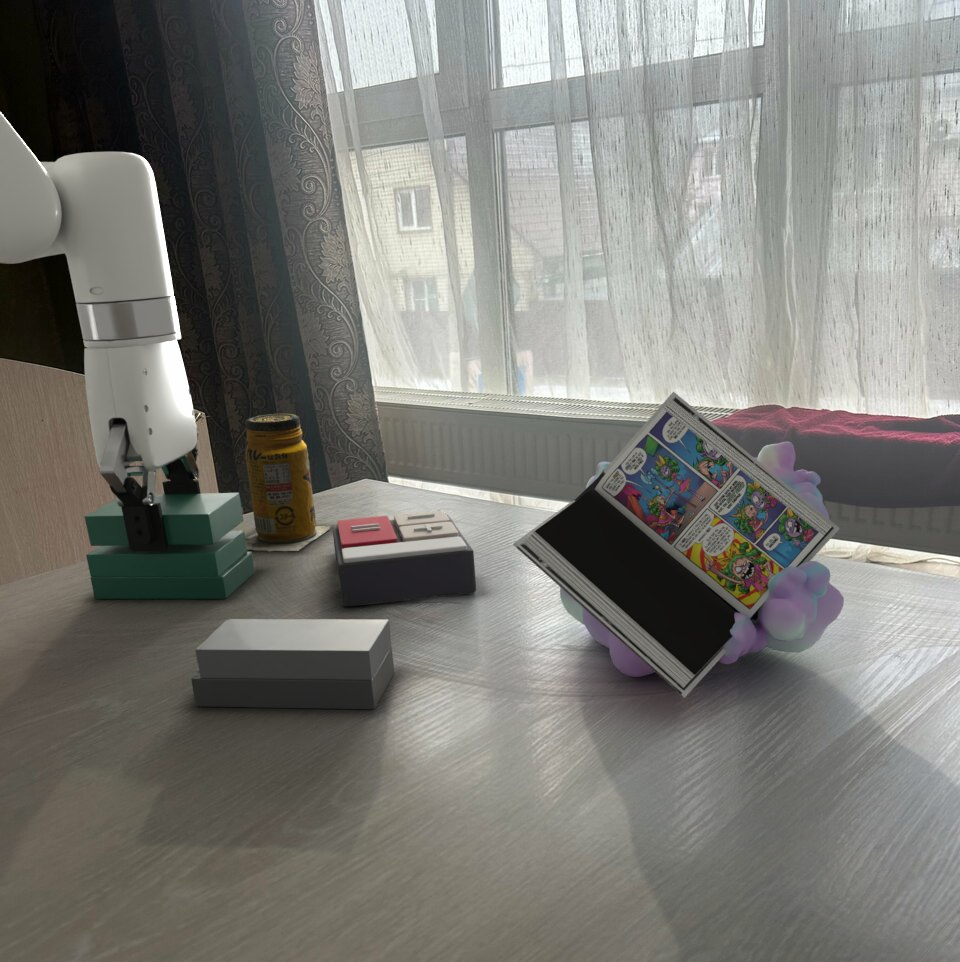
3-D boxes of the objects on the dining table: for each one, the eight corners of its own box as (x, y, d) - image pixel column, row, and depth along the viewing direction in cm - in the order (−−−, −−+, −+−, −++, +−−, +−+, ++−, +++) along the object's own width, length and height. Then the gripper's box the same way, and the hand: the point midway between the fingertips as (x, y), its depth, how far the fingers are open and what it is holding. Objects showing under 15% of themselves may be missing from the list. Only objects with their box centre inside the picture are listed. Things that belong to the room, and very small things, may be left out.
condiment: (332, 527, 104) (318, 410, 99) (298, 552, 96) (282, 427, 91) (268, 526, 105) (252, 411, 101) (229, 550, 98) (210, 427, 93)
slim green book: (90, 546, 85) (84, 516, 84) (128, 522, 91) (123, 495, 90) (213, 544, 83) (208, 514, 82) (243, 521, 89) (239, 492, 88)
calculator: (447, 505, 95) (473, 541, 81) (451, 550, 96) (477, 592, 82) (331, 517, 93) (337, 555, 79) (336, 562, 94) (343, 607, 80)
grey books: (195, 706, 65) (185, 650, 64) (228, 671, 70) (219, 618, 69) (374, 709, 63) (368, 651, 62) (394, 673, 68) (389, 618, 67)
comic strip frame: (782, 519, 81) (676, 332, 73) (970, 591, 61) (851, 344, 54) (583, 674, 80) (458, 501, 73) (707, 796, 61) (553, 575, 54)
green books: (94, 599, 86) (85, 555, 85) (132, 573, 93) (123, 531, 91) (226, 599, 85) (218, 553, 83) (255, 572, 91) (248, 530, 89)
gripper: (136, 316, 89) (171, 511, 96) (26, 337, 73) (78, 569, 80) (216, 312, 88) (246, 509, 94) (122, 333, 72) (166, 568, 79)
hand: (169, 535), depth 87 cm, fingers closed on slim green book, 7 cm apart
